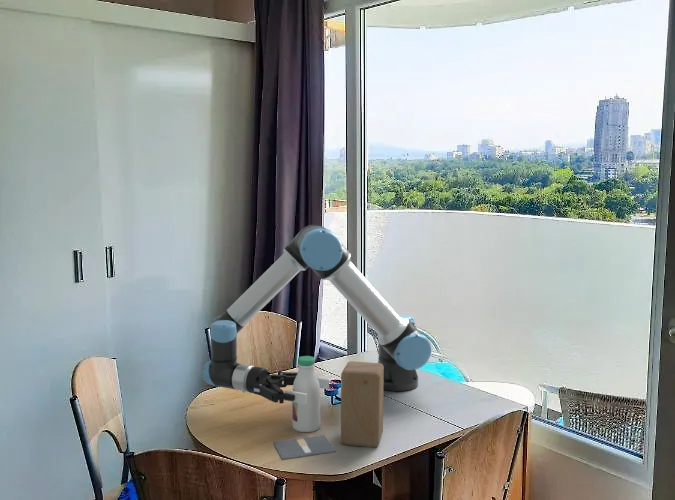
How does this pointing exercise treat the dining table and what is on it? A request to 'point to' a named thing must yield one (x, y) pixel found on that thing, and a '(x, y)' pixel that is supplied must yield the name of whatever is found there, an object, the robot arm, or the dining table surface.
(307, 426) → the milk bottle
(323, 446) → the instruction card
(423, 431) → the dining table surface
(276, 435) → the dining table surface
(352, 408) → the wooden block
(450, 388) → the dining table surface
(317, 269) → the robot arm
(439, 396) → the dining table surface
